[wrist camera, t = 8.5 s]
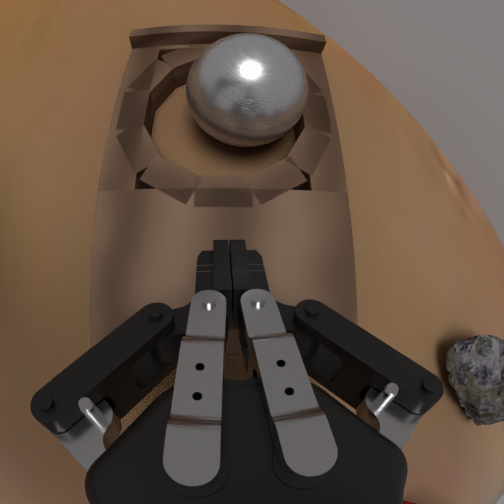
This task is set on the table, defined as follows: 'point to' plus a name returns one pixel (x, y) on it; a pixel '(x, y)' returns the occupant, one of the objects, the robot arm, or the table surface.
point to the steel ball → (247, 90)
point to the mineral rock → (478, 377)
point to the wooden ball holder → (216, 194)
